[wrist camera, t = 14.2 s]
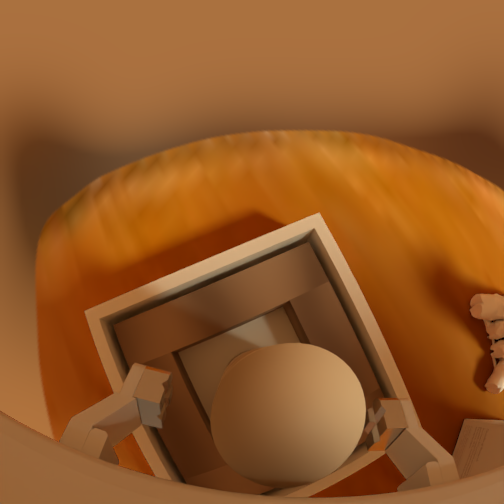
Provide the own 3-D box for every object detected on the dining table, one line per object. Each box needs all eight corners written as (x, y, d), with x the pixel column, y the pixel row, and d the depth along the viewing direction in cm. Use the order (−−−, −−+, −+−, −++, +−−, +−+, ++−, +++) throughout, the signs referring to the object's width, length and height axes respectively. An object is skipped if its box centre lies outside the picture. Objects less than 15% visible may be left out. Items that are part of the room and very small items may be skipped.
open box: (305, 235, 23) (319, 212, 20) (393, 418, 19) (421, 427, 15) (107, 319, 20) (84, 311, 17) (200, 510, 16) (195, 537, 13)
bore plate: (300, 254, 22) (308, 242, 20) (378, 416, 19) (394, 421, 16) (125, 328, 20) (113, 325, 17) (208, 496, 16) (205, 512, 14)
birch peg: (273, 337, 20) (328, 316, 9) (301, 396, 19) (385, 440, 8) (211, 365, 19) (183, 382, 8) (240, 424, 18) (252, 509, 7)
